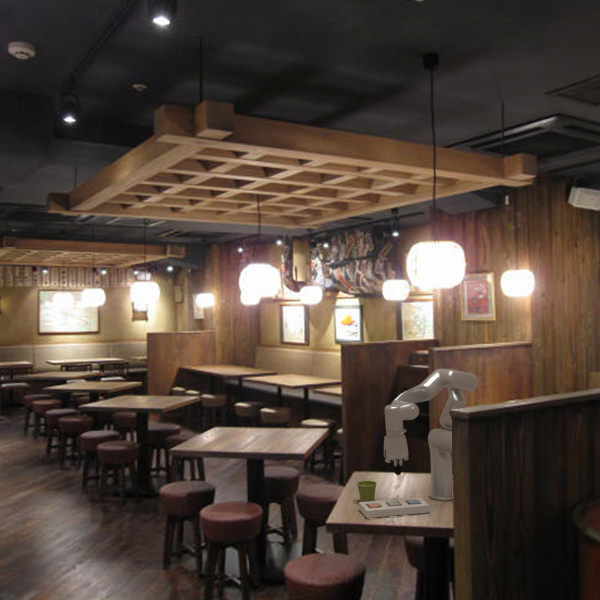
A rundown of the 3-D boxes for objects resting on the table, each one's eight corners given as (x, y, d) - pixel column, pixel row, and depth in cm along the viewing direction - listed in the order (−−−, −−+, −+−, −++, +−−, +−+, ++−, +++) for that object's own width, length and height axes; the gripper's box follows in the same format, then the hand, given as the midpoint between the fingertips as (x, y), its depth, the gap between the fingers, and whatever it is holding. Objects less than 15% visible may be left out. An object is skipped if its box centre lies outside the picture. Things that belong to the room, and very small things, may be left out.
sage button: (396, 508, 263) (396, 501, 263) (400, 511, 258) (400, 504, 258) (387, 509, 262) (387, 502, 262) (390, 512, 257) (390, 505, 257)
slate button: (416, 506, 264) (415, 499, 264) (420, 509, 260) (419, 502, 260) (406, 507, 263) (406, 500, 264) (410, 510, 259) (410, 503, 259)
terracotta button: (377, 509, 261) (377, 502, 261) (380, 513, 256) (380, 506, 257) (367, 510, 260) (367, 503, 260) (370, 514, 256) (370, 506, 256)
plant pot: (352, 503, 274) (352, 483, 274) (364, 497, 281) (363, 479, 281) (370, 506, 268) (369, 487, 268) (381, 501, 275) (380, 482, 275)
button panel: (418, 504, 269) (418, 497, 269) (429, 513, 257) (429, 505, 257) (358, 510, 263) (358, 502, 263) (367, 519, 251) (367, 511, 251)
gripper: (407, 429, 270) (410, 469, 270) (376, 433, 267) (379, 474, 267) (413, 432, 263) (417, 474, 263) (381, 437, 260) (385, 479, 260)
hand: (397, 474), depth 265 cm, fingers closed
